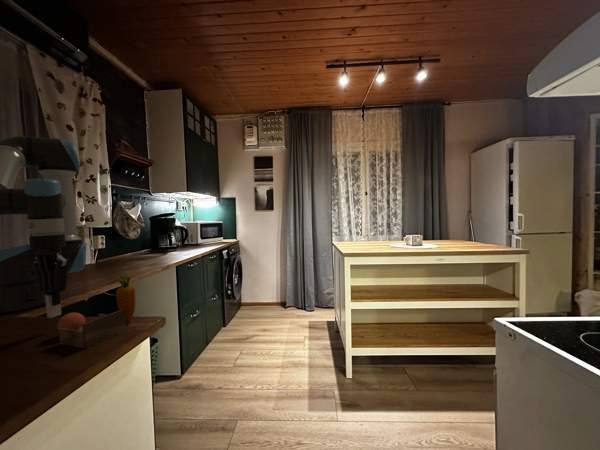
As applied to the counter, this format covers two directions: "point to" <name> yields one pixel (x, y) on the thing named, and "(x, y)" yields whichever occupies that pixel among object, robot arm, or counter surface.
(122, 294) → the carrot
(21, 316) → the counter surface
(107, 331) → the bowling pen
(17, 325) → the counter surface
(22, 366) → the counter surface
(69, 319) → the ball
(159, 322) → the counter surface
